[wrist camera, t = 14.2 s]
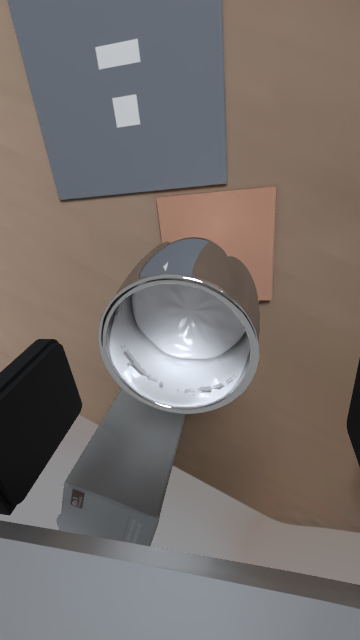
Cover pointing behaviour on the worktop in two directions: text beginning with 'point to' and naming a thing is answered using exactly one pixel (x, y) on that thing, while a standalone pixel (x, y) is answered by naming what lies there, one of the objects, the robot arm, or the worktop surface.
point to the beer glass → (185, 321)
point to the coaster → (243, 212)
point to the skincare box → (122, 474)
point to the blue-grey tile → (126, 92)
